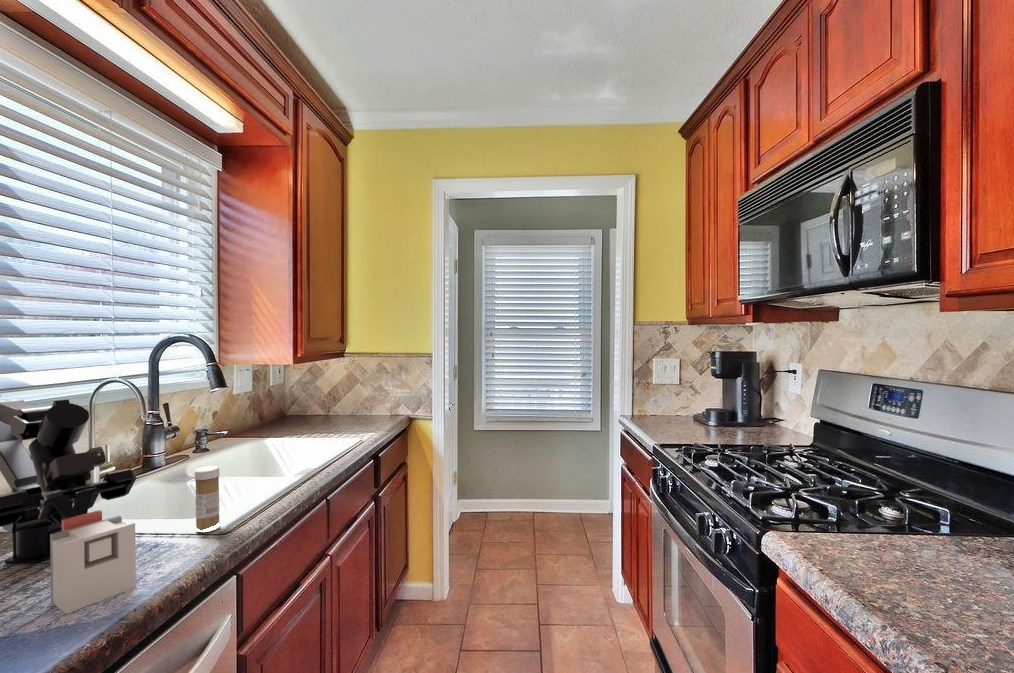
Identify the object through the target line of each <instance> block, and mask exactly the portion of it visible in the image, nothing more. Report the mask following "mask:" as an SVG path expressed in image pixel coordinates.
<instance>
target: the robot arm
mask: <svg viewBox="0 0 1014 673" xmlns="http://www.w3.org/2000/svg"><path fill="white" fill-rule="evenodd" d="M89 418H90V412H89V411H88V409H86V408H85V407H83V406H81V405H79V404H76V403H72V402H71V403H70V399H68V398H65V399H56V400H55V399H54V400H53V402H52V405H51V406H50V405H49V406H38V405H35V404H32V403H29V402H26V401H25V400H24V399H22V398H21V399H19V398H10V399H9V398H8V399H7V398H6V399H0V473H1V474H2V477H3V478H4V479H5V481H6V482H7V484H8V486H9V487H10V489H11V491H10V492H9V493H3V494H0V528H2V529H3V530H5V531H6V532H8V533H9V534H12V556H11V557H9V558H6V559H5V560H4V564H16V563H17V564H21V563H22V564H24V563H25V564H26V563H28V564H29V563H40V562H43V561H45V560H47V559H49V558H51V555H50V534H54V533H57V532H61V531H62V520H63V519H67V518H70V517H74V516H78V515H82V514H86V513H89V512H88V511H89V509H92V508H93V507H94V505H95V503H96V501H97V499H98V496H99V494H100V497H101V499H104V500H106V501H111V500H114V499H119V498H122V497H126V496H127V495H129V493H130V491H131V490H132V488H133V486H134V485H135V482H136V480H137V477H136V473H135V471H134V470H133V469H131V468H123V469H120V470H114V471H113V470H112V471H110V472H106V473H105V475H104V478H103V479H102V481H97V482H93V483H88V484H87V481H89V480H90V479H91V477H92V475H91V471H94V470H95V468H97V467H101V466H103V465H104V464H105V463H106V460H107V459H106V453H105V451H104V448H103V447H102V446H98V447H97V446H96V447H91V448H89V449H88V450H87V451H86V452H85V451H83V452H76V449H75V448H74V444H76V443H77V442H79V440H80V438H81V437H82V434H83V432H84V429H85V427H86V425H87V423H88V421H89ZM26 440H32V441H31V442H30V444H29V445H28V450H27V449H26V447H25V445H24V444H23V442H24V441H26Z"/></svg>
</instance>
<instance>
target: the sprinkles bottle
mask: <svg viewBox="0 0 1014 673" xmlns="http://www.w3.org/2000/svg"><path fill="white" fill-rule="evenodd" d="M220 475H221V474H220V467H219V465H218V466H217V465H208V466H202V467H198V468H196V469H195V470H194V481H195V494H194V495H195V519H196V520H195V526H196V527H197V528H198V529H200V530H203V529H206V528H209V527H211V526H214V525H216V524H217V523H218V522H219V523H220V486H219V485H220V483H219V482H220V480H219V478H220ZM196 527H195V528H196Z"/></svg>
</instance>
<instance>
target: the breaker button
mask: <svg viewBox="0 0 1014 673" xmlns="http://www.w3.org/2000/svg"><path fill="white" fill-rule="evenodd" d="M101 520H103V510H101V509H98V510H95V511H91V512H87V513H86V514H82V515H78V516H74V517H70V518H67V519H63V520H62V531H65V530H68V529H72V528H76V527H79V526H83V525H87V524H90V523H94V522H97V521H101ZM109 555H111V537H109V536H107V535H106V536H102V537H99V538H95V539H92V540H89V541H85V542H84V558H85V559H86V560H88V561H89V562H90V561H93V560H97V559H100V558H103V557H106V556H109Z"/></svg>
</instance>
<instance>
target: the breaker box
mask: <svg viewBox="0 0 1014 673" xmlns="http://www.w3.org/2000/svg"><path fill="white" fill-rule="evenodd" d="M122 518H123V516H121V515H116V516H112V517H109V518H105V519H102V520H101V521H97V522H94V523H90V524H87V525H83V526H79V527H76V528H72V529H68V530H65V531H61V532H57V533H54V534H50V555H51V557H50V602H51V603H52V604H53V605H54V606H55V607H57V608H58V609H59V610H60V611H61V612H62V613H64V614H65V615H67V614H70V613H72V612H75V611H78V610H80V609H83V608H86V607H87V605H88V606H91V605H92V604H95V603H97V602H98V603H99V602H100V601H103V600H105V599H108V598H111V597H113V596H116V595H119V594H121V593H123V592H126V591H129V590H132V589H133V588H136V587H137V579H136V578H137V575H136V574H137V571H136V569H137V566H136V565H137V564H136V561H137V560H136V558H137V557H136V523H135V522H134V521H133V522H129V523H127V522H125V521H123V520H122ZM106 535H107V536H109V537H111V555H109V556H106V557H103V558H100V559H97V560H93V561H90V562H89V561H88V560H86V559H85V558H84V542H85V541H89V540H92V539H95V538H99V537H102V536H106ZM82 607H83V608H82ZM77 609H78V610H77Z"/></svg>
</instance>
